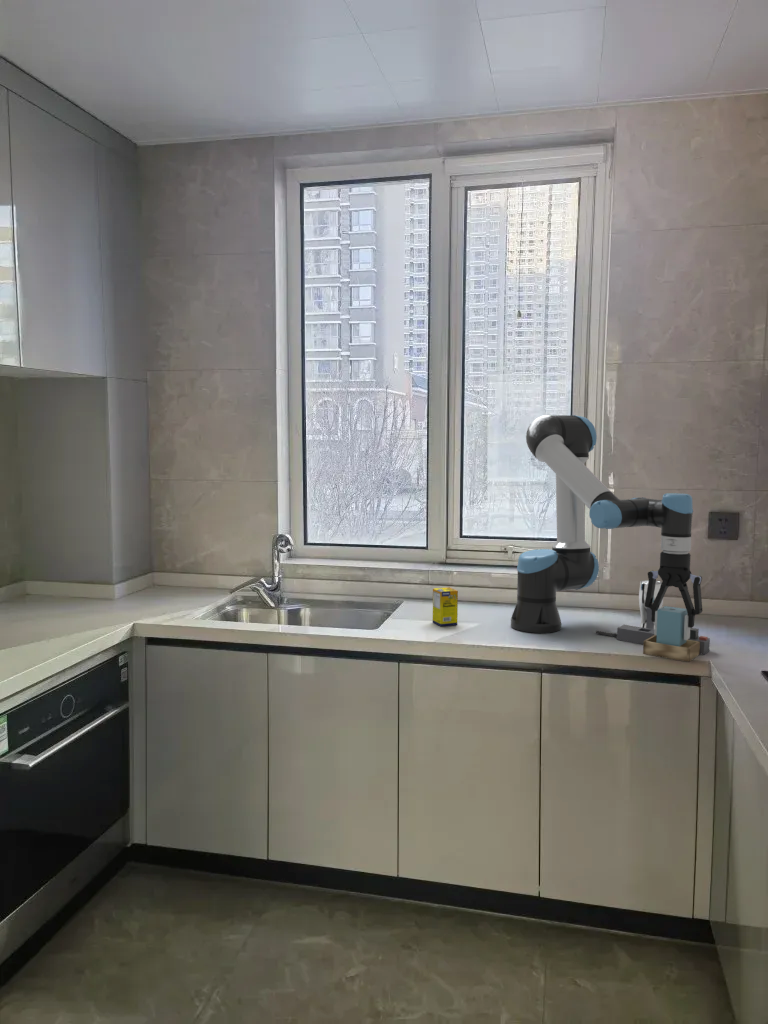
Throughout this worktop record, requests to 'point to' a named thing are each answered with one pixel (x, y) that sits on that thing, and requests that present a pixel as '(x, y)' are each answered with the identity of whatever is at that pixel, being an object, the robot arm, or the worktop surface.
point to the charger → (671, 626)
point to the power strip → (642, 634)
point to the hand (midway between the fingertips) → (671, 636)
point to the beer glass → (645, 611)
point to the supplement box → (445, 606)
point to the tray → (672, 649)
